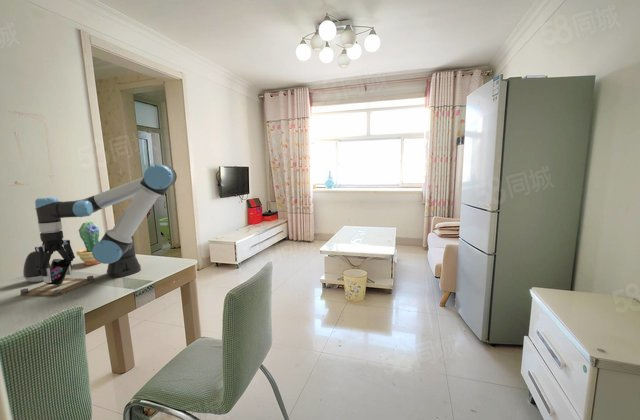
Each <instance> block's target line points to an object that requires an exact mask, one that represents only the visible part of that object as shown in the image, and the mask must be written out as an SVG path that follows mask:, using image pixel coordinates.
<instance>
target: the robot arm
mask: <svg viewBox="0 0 640 420" xmlns="http://www.w3.org/2000/svg"><path fill="white" fill-rule="evenodd" d="M177 176H178V175H177V172H176V171H175V169H174V168H172V167H171V166H169V165H167V164H160V163H157V164H153V165H150V166H149V167H147V168H146V169H145V171H144V173H143V176H141V177H139V178H137V179H134V180H132V181H128V182H126V183H123V184H120V185H119V186H116V187H113V188H109V189H108V190H105V191H102V192H100V193H97V194H95V195H92V196H89V197H86V198H83V199H77V200H70V201H68V200H67V201H59V199H58V198H57V197H55V196H54V197H51V196H49V197H41V198H40V197H38V198H36V199H35V201H34V205H35V212H36V217H37V224H38V230H39V232H40V233H39V237H40V241H41V242H42V244H41V245H40V246H35V247H34V251H36V258H35V269H40V270H41V275H42V276H43V277H44V281H43V282H44V283H45V284H47V283H51V275H50V269H49V268H47V267H48V264H49V263H50V260H51V257H52V255H53V254H54V252H57V253H58V254H59V255H60V257H61V259H64V260H68V261H71V262H74V259H76V255H75V253H74V251H73V249H72V246H71V245H72V244H71V240H70V239H64V232H63V226H62V225H63V224H62V219H64V218H83V217H84V218H85V217H90V216H91V215H92V214H93V213H96V212H98V211H100V210H102V209H104V208H108V207H110V206H112V205H115V204H118V203H120V202H123V201H125V200H129V199H130V198H132V200H131V202H130V203H129V205H128V206H127V207H126V209H125V210H124V212H123V213H122V214H121V217H120V218H118V220H117V222H116V223H115V225H114V226H113V228H111V229H107V230H106V232H105V233H104V235H102V237H101V239H100V240H99V242H97V243H96V244H95V245H94V247H93V249H92V255H93V257H94V258H95V259H96V260H97V261H98V262H100V263H99V264H105V265H107V269H106V277H108V278H121V277H126V276H131V275H135V274H137V273H139V272H140V271H141V270H142V265H141V264H140V263H139V261H138V259H137V255H136V248H135V235H134V233H135V232H136V231H137V229H138V228H139V226H140V225H141V223H142V222H143V220H144V219H145V218H146V216H147V214H148V213H149V212H150V210H151V208H153V206H154V204H155V202H156V201H157V199H159V198H160V197H163V196H164V195H165V194H166V192H168V190H169V188H170V187H172V186H173V185H175V183H176V181H177ZM72 267H73V266H72V263H71V264H70V267H69V269H68V271H67V274H66V276H72V275H73V274H72Z"/></svg>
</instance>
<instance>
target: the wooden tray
mask: <svg viewBox="0 0 640 420" xmlns="http://www.w3.org/2000/svg"><path fill="white" fill-rule="evenodd" d="M94 281H95V278H94V275H89V276H87V278H80V277H79V278H75V277H73V278H72V277H70V278H69V277H65V278H64V281H63V283H62V284H59V285H51V284H47V283H45V284H42V285H40V286H36V287H34V288H31V289H29V288H27V287H26V288H23V289H20V290H19V291H20V297H22V296H23V297H56V296H58V297H60V296H63V295H65V294H67V293H69V292H72V291H73V290H76V289H79V288H81V287H83V286H86V285H88V284H91V283H92V282H94ZM64 293H65V294H64ZM62 294H63V295H62Z"/></svg>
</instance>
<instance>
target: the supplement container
mask: <svg viewBox="0 0 640 420" xmlns="http://www.w3.org/2000/svg"><path fill="white" fill-rule="evenodd" d="M70 264H71V265H72V261H68V260H64V259H63V258H53V259H52V260H51V262H50V268H49V269H50V275H51V283H46V284H51V285H59V284H62V283H63V281H64V278H66V276H67V275H66V274H67V271H68V269H69V267H70Z"/></svg>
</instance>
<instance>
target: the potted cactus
mask: <svg viewBox="0 0 640 420" xmlns="http://www.w3.org/2000/svg"><path fill="white" fill-rule="evenodd" d="M100 229H101V228H100V227H99V226H98V225H97V224H96V223H94V221H85V222H83V223H82V224H81V226H80V227H79V229H78V232H79V234H78V235H79V237H80V239H81V240H82V241H83V244H84V246H85V248H83V249H79V250H76V252H75V253H76V256H78V257H79V259H80V260H81V261H82V262H84V265H85V266H91V265H92V266H93V265H98V264H101V263H100V262H98V261H97V260H96V259H95V258H94V257H93V255H92V249H93V247H94V245H95V244H96V243H97V242H99V241H100V240H99V238H100Z"/></svg>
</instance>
